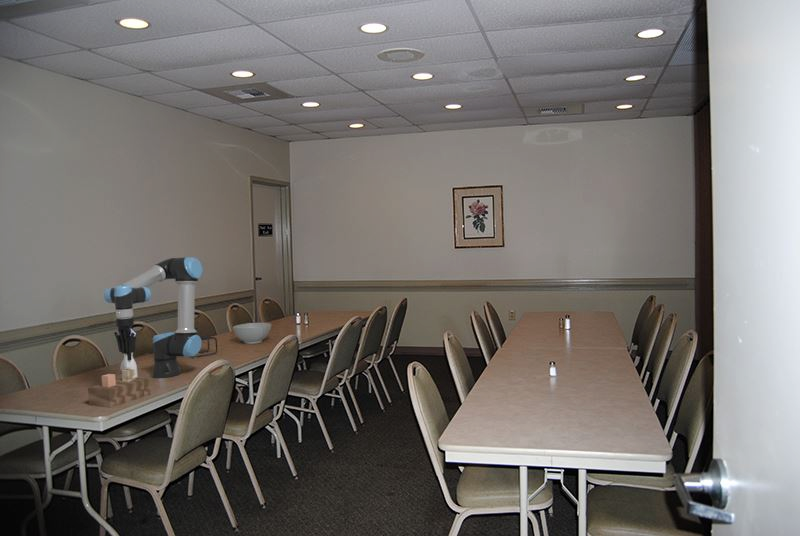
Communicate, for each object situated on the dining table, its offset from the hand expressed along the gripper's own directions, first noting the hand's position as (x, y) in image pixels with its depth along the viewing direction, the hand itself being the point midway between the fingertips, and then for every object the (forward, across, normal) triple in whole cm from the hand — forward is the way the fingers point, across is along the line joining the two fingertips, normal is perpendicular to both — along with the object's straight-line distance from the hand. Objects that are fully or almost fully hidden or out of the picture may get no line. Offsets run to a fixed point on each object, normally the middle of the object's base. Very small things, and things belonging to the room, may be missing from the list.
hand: (128, 366), depth 283 cm
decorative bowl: (+14, -37, +138) cm, 143 cm away
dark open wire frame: (+15, -41, +91) cm, 100 cm away
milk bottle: (+15, -11, +10) cm, 21 cm away
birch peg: (+9, 0, 0) cm, 9 cm away
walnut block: (+14, 0, -5) cm, 15 cm away
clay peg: (+9, 0, -11) cm, 14 cm away
